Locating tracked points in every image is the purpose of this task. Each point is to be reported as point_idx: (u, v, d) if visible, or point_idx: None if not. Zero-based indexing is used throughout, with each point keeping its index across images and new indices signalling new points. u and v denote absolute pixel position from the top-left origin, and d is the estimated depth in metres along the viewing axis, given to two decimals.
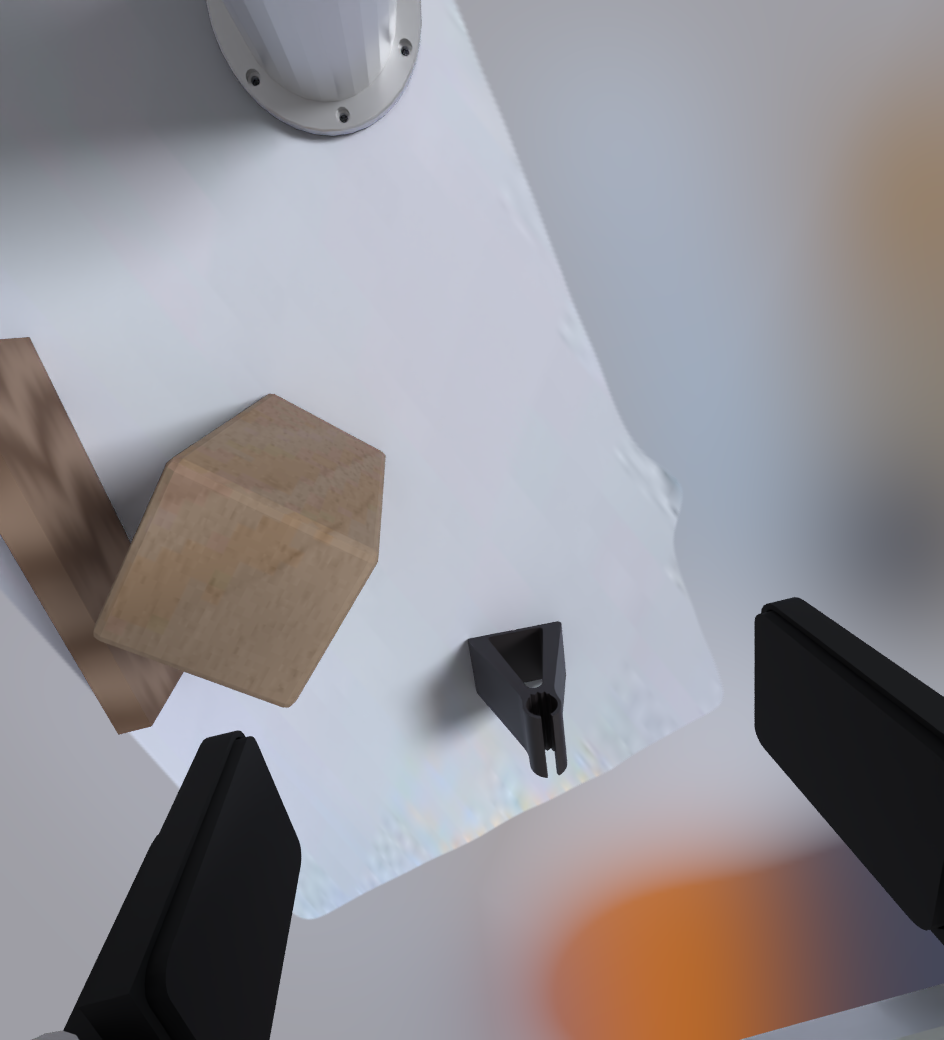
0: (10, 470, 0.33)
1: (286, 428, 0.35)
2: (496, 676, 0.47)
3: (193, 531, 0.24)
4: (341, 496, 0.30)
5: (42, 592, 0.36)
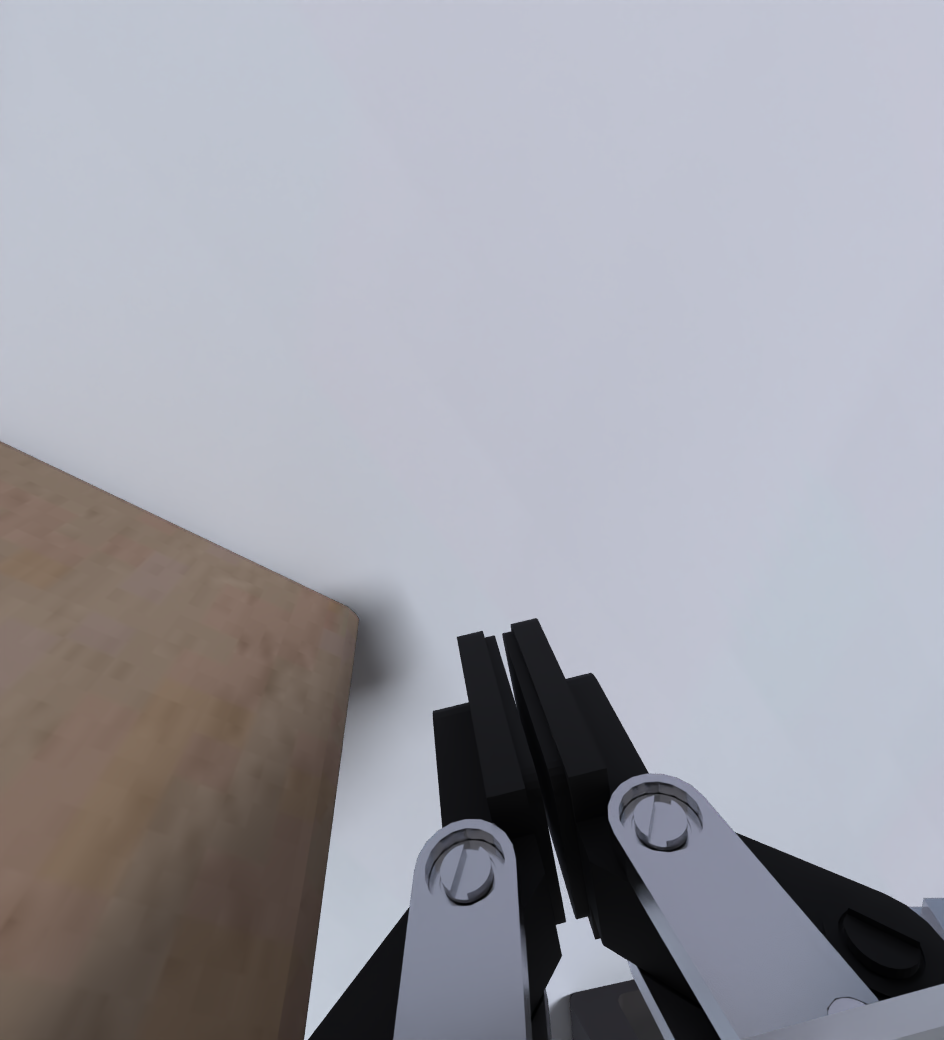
0: None
1: None
2: None
3: None
4: None
5: None
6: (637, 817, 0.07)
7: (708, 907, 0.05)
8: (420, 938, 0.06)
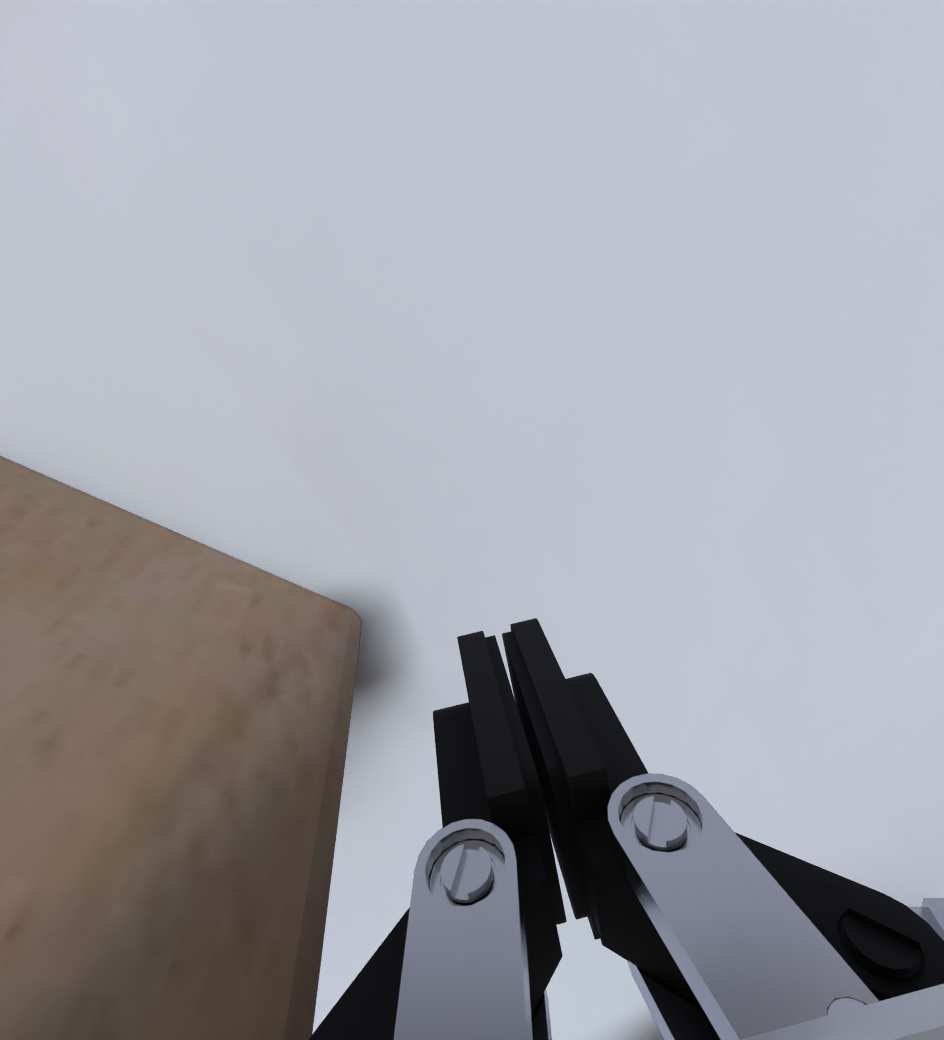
0: None
1: None
2: None
3: None
4: None
5: None
6: (637, 817, 0.07)
7: (708, 907, 0.05)
8: (421, 938, 0.06)
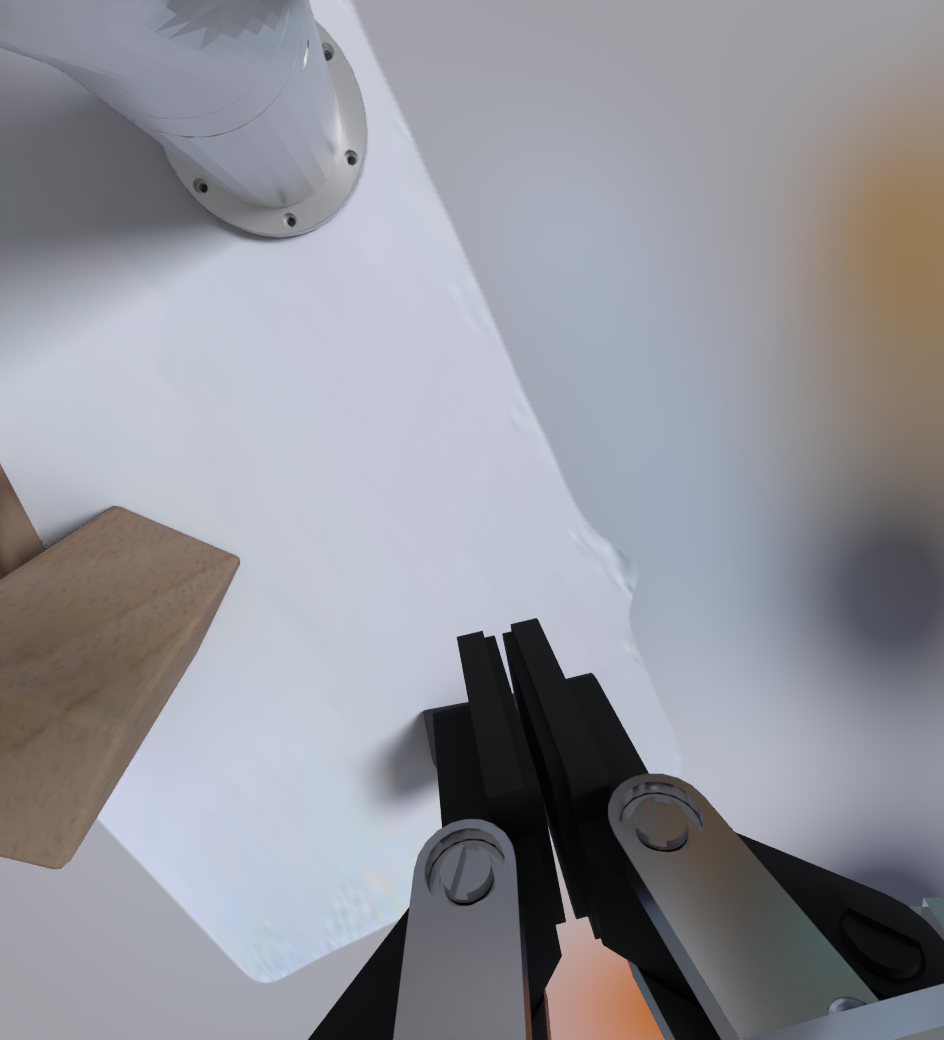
0: None
1: (103, 557, 0.35)
2: None
3: None
4: (124, 646, 0.29)
5: None
6: (637, 817, 0.07)
7: (708, 907, 0.05)
8: (420, 938, 0.06)
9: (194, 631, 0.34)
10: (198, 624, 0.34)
